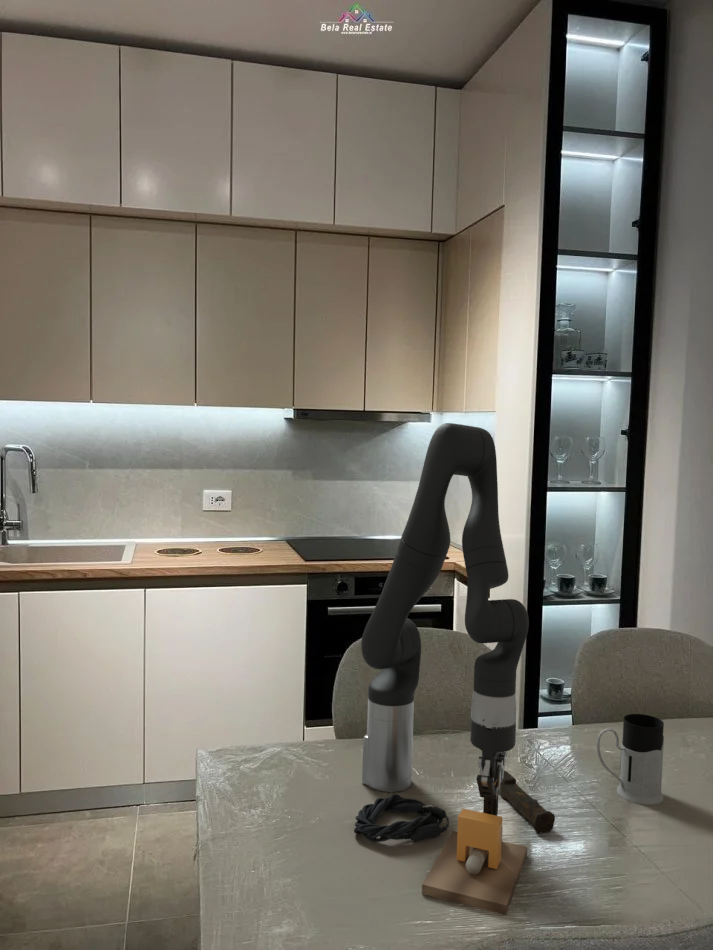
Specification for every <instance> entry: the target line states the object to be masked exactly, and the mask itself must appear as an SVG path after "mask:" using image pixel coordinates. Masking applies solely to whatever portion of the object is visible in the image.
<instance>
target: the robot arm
mask: <svg viewBox="0 0 713 950" xmlns="http://www.w3.org/2000/svg"><path fill="white" fill-rule="evenodd" d="M494 441H495V440H494V438H493V436H492V435H491V433H490V432H489V431H488V430H487V429H484V428H483V427H478V426H472V425H468V424H466V425H465V424H460V423H459V424H458V423H452V422H444V423H442V424H441V425H439V426H438V427H437V428H436V430H435V431H434V433H432V436H431V438H430V441H429V444H428V447H427V450H426V454H425V459H424V461H423V465H422V471H421V474H420V479H419V483H418V487H417V490H416V494H415V496H414V501H413V504H412V506H411V509H410V512H409V515H408V516H409V517H408V519H407V522H406V524H405V527H404V529H403V531H402V534H401V536H400V540H399V542H398V545H397V549H396V551H395V554H394V558H393V561H392V564H391V567H390V569H389V572H388V575H387V578H386V580H385V583H384V586H383V588H382V592H381V593H380V595H379V598H378V600H377V602H376V604H375V607H374V609H373V611H372V613H371V615H370V617H369V619H368V621H367V622H366V625H365V628H364V629H363V630H364V631H363V633H362V636H361V643H360V644H361V645H360V646H361V650H360V651H361V656H362V657H363V659H364V662H365V663H366V664H367V665H368V666H369V667H370V668H372V669H374V670H376V669H377V670H380V672H379V673H378V674H377V675H376V676H375V677H374V678H373V679H372V680H371V681H370V682H369V684H368V689H367V690H368V691H367V722H366V734H365V735H364V736H363V740H362V742H363V743H362V765H361V766H362V771H361V772H362V773H361V776H362V777H361V783H362V784H364V785H367V786H368V787H369V788H371V789H374V790H376V791H380V792H387V793H388V792H389V793H394V792H401V791H404V790H406V788H407V789H408V788H409V787H411V785H412V775H413V770H412V768H413V765H412V764H413V744H414V743H413V741H414V740H413V738H414V735H413V734H414V715H415V713H414V709H415V707H414V706H415V705H414V704H415V693H416V689H417V687H418V685H419V680H420V669H421V655H422V640H421V633H420V630H419V629H418V627H417V625H416V624H415V622H414V621H413V620H411V619H410V618H408V616H409V615H410V613H411V612H412V610H413V608H414V607H415V606H416V605H417V603H418V602H419V600H421V598H423V596H424V595H425V594H426V592H427V591H428V590H429V589H430V588H431V587H432V585H433V584H434V583H435V581H436V580H437V578H438V576H439V575H440V573H441V571H442V569H443V566H444V563H445V560H446V558H447V556H448V555H447V554H448V552H449V549H450V546H451V532H450V526H449V522H448V517H447V513H446V505H445V503H446V496H447V492H448V488H449V485H450V483H451V481H452V478H453V476H454V475H456V476H462V477H467V478H468V481H469V485H470V489H471V505H470V509H469V511H468V515H467V518H466V521H465V524H464V527H463V529H462V536H461V547H462V548H461V549H462V556H463V561H464V567H465V570H466V577H467V587H466V603H465V611H464V626H465V630H466V632H467V634H468V636H469V637H470V639H472V641H474V642H476V644H477V643H478V644H493V643H497V644H496V645H495V647H494V648H493V649H492V650H490V651H489V652H485V653H483V654H481V655H479V656H478V657H477V658H476V659H475V660H474V664H473V665H474V669H473V670H474V671H473V692H472V698H471V707H470V708H471V711H470V712H471V715H470V743H471V744H472V746H473V747H475V748H477V749H479V750H480V751H481V755H479V757H478V763H477V764H478V765H477V766H478V768H479V774H477V775H476V779H475V780H476V784H477V787H478V788H477V789H478V793H479V797H480V798H483V806H482V807H483V809H482V810H483V812H482V813H486V814H491V815H496V816H499V810H498V809H499V796H500V794H499V793H500V787H501V786H502V783H503V782H502V780H503V776H504V770H505V766H506V765H505V764H506V763H507V761H506V760H507V752H508V751H510V750H513V749H514V747H515V746H516V739H517V737H516V736H517V735H516V734H517V711H518V710H517V709H518V708H517V696H516V695H517V694H516V692H517V691H516V690H517V689H516V687H517V670H518V665H519V662H520V659H521V655H522V652H523V650H524V646H525V643H526V639H527V636H528V632H529V625H530V621H529V613H528V611H527V608H526V607H525V606H524V604H523V603H522V602H521V601H520V600H517V599H515V598H514V599H512V598H509V599H508V598H506V599H503V598H502V599H489V592H490V590H492V589H495V588H499V587H500V586H503V585H505V584H506V583H507V582H508V580H509V569H508V563H507V560H506V552H505V549H504V544H503V540H502V533H501V527H500V517H499V489H498V488H499V487H498V486H499V485H498V484H499V483H498V465H497V464H498V461H497V451H496V446H495V444H496V443H495V442H494Z"/></svg>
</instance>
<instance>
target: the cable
mask: <svg viewBox="0 0 713 950" xmlns="http://www.w3.org/2000/svg"><path fill="white" fill-rule="evenodd" d="M383 812H390V813H402V814H403V813H404V814H406V813H417V814H418V815H419V814H420V816H418V817H415V819H413V820H410V821H407V820H398V821H395V822H393V823H390V824H385V825H380V824H378V823H376V822H377V820H378V819H379V818H380V816H381V814H382V813H383ZM444 818H445V820H446V823H445V825H444V826H440V825H441V824H442V823H443V820H444ZM354 819H355V820H356V822H354V826H355V828H354V830H353V832H354V834H357V833H358V834H360V833H362V835H363V837H364V838H365V839H366V840H367V839H368V840H367V841H369V842H372V843H381V842H385V841H389V840H394V841H396V840H397V841H398V840H399V841H400V840H411V841H412V842H414V843H417V841H418V842H422V841H425V840H426V841H427V840H430V839H434V838H438V837H440V836H441V835H442V834H443V833H445V832H447V830H448V828H449V826H450V818H449V816H447V812H446V810H445V809H442V808H439V807H438V806H434V805H432V804H429V805H428V804H425V803H424V802H422V801H421V800H418V799H415V798H405V797H403V796H401V795H400V794H398V793H393V794H391V795H390V796H387V797H385V798H382V797H377V798H376V799H375V800H374V802H373V803H368V804H365V805H364V806H363V807H362V809H361V810H358V814H357V816H355V818H354ZM358 834H357V835H358Z"/></svg>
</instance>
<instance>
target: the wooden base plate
mask: <svg viewBox="0 0 713 950" xmlns="http://www.w3.org/2000/svg"><path fill="white" fill-rule="evenodd" d="M502 829H503V825H502ZM457 832H458V830H453V829H452V830H451V832H450V834H449V836H448V837H447V839H446V841H445V842H444V844H443V846H442V848H441V850H440V851H439V853H438V855H437V857H436V859H435V861H434V862H433V864H432V867H431V868H430V870H429V872H428V873H427V874H426V877H425V878H424V880H423V882H422V884H421V894H422V893H423V894H422V895H425V894H427V895H426V896H429V895H430V897H433V898H437V899H439V900H444V901H448V902H454V903H456V904H461V905H464V906H469V907H472V908H477V909H481V910H485V911H488V912H492V913H496V914H500V915H504V916H506V915H507V914H508V910H509V908H510V905H511V902H512V899H513V896H514V893H515V890H516V889H517V885H518V882H519V879H520V876H521V873H522V870H523V868H524V866H525V862H526V859H527V857H528V846H526V845H521V844H516V843H512V842H508V841H504V840H502V841H501V860H500V863H499V865H498V868H497V869H494V868H490V867H488V859H489V851H488V850H483V849H479V848H474V847H470V849H469V854H468V856H467V859H466V861H465V862H464V861H460V860H456V859H457Z"/></svg>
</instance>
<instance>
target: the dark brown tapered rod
mask: <svg viewBox="0 0 713 950" xmlns="http://www.w3.org/2000/svg"><path fill="white" fill-rule="evenodd" d="M502 782H503V783H502V786H501V787H500V793H499V796H500V797H501V799H502V800H504V801H508V802H509V803H510V804H511V805H512V807H514V808H515V809H517V810H518V812H519V813H520V814H521V815H522V816H523V817H524V818H525V819H526V820H527V821H529V823H530V824H531V825H533V827H534V831H535V833H536V834H543V833H545V834H546V833H549V832H551V831H552V830H553V828H554V825H555V821H556V815H555V814H554V813H553V812H552V811H549V810H547V809H545V808H544V807H543V806H542V805H541V804H540V803H539V802H538V800H537V799H535V798H533V797H532V796H531V795H529V794H528V793H527V792H526V791H525V790H524V789H522V788H521V787H520V785H518V783H517V779H516V778H515V777H514V776H512V774H511V773H509V772H508V771H506V770H505V769H504V776H503V780H502Z"/></svg>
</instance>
